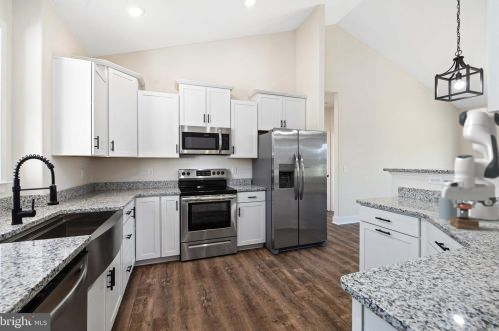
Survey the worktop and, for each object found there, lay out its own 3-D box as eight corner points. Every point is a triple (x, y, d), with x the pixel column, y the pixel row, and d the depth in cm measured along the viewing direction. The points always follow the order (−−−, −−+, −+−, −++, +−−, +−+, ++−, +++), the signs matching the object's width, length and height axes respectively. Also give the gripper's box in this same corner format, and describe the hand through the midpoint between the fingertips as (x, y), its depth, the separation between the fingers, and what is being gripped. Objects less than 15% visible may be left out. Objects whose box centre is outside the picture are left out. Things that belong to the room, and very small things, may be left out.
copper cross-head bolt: (460, 223, 127) (460, 203, 127) (454, 220, 133) (454, 201, 132) (473, 223, 125) (474, 204, 125) (467, 221, 130) (467, 202, 130)
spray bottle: (437, 216, 153) (437, 179, 153) (453, 217, 150) (454, 180, 149) (441, 219, 145) (441, 181, 144) (459, 221, 141) (460, 181, 141)
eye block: (450, 224, 135) (450, 216, 134) (469, 225, 131) (469, 217, 131) (458, 229, 126) (458, 220, 126) (478, 230, 123) (478, 221, 123)
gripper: (484, 183, 127) (484, 207, 128) (440, 182, 134) (439, 205, 135) (491, 184, 122) (491, 209, 122) (445, 183, 129) (445, 207, 129)
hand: (464, 207), depth 128 cm, fingers closed on copper cross-head bolt, 6 cm apart
